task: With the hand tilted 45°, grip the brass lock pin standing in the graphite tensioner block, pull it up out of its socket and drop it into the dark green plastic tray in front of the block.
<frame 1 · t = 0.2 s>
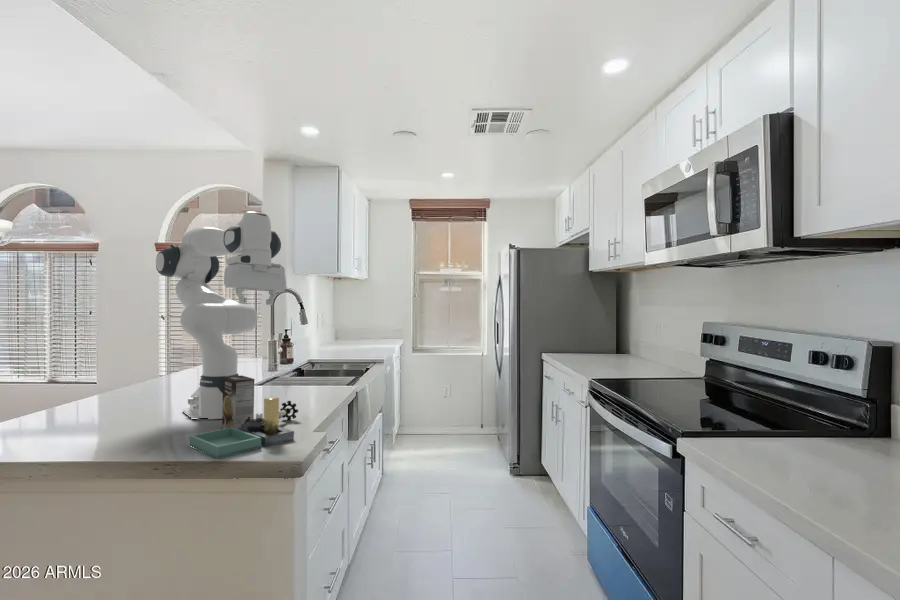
hand: (256, 304, 157), 39 cm above the countertop, tool pointing down, fingers open, 8 cm apart
coffee box: (237, 429, 154), on the countertop
tray: (225, 447, 135), on the countertop
tensioner block: (265, 438, 144), on the countertop
valve: (279, 424, 161), on the countertop
lock pin: (271, 440, 142), resting in tensioner block
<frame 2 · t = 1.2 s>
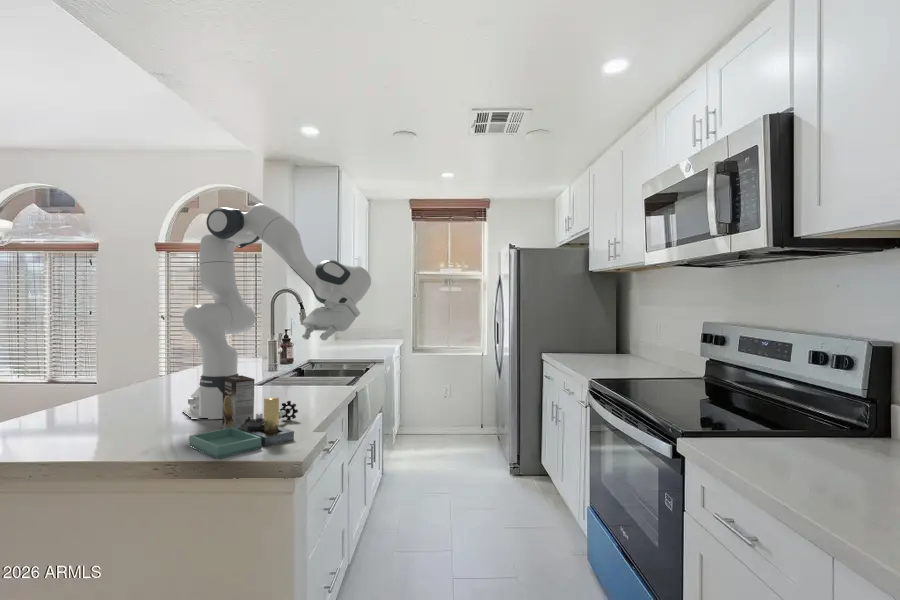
hand: (313, 338, 153), 29 cm above the countertop, tool tilted 45°, fingers open, 8 cm apart
nothing on the countertop moved.
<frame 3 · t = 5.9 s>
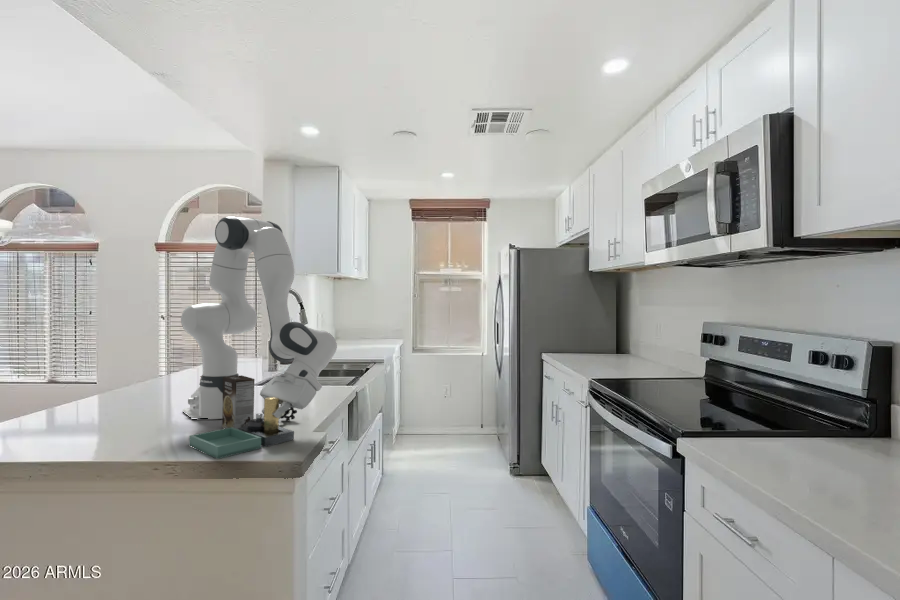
hand: (269, 415, 142), 7 cm above the countertop, tool tilted 45°, fingers closed on lock pin, 4 cm apart
lock pin: (271, 440, 142), resting in tensioner block, touching gripper
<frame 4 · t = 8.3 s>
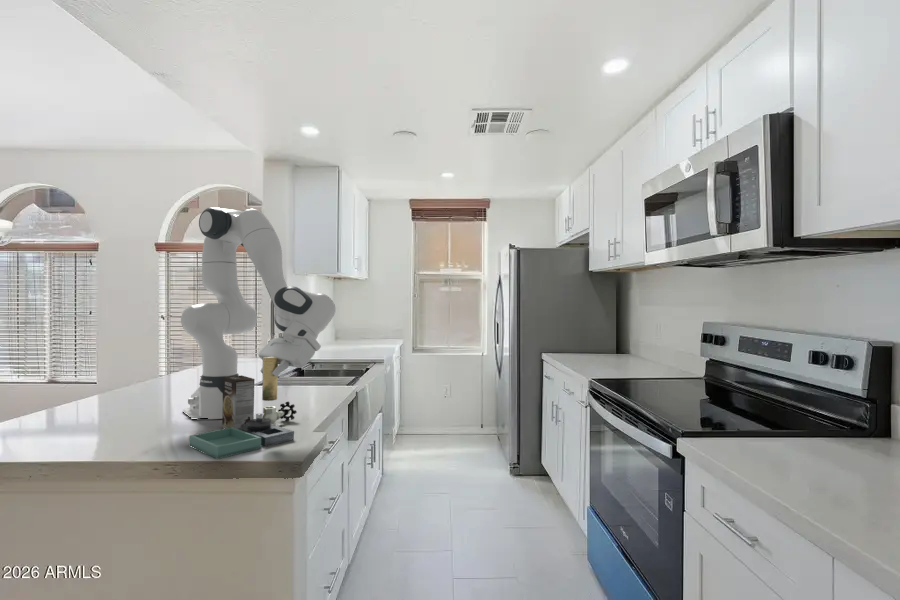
hand: (268, 374, 141), 19 cm above the countertop, tool tilted 45°, fingers closed on lock pin, 4 cm apart
lock pin: (269, 399, 142), point 12 cm above the countertop, touching gripper
when the fingers open (10 cm above the countertop, at t = 11.2 s): lock pin drops 2 cm, resting on tray.
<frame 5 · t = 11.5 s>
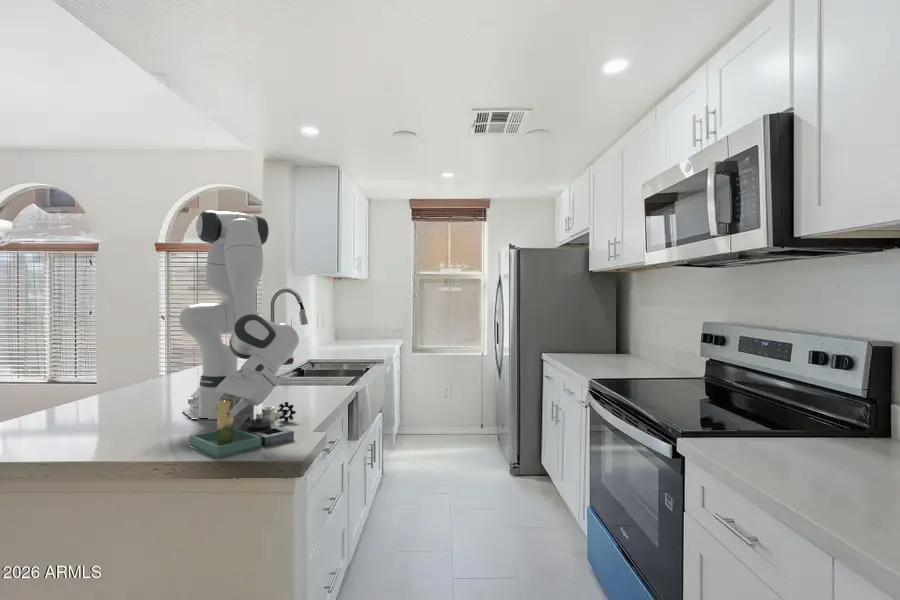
hand: (223, 411, 134), 10 cm above the countertop, tool tilted 45°, fingers open, 7 cm apart
lock pin: (225, 444, 135), point 1 cm above the countertop, touching tray
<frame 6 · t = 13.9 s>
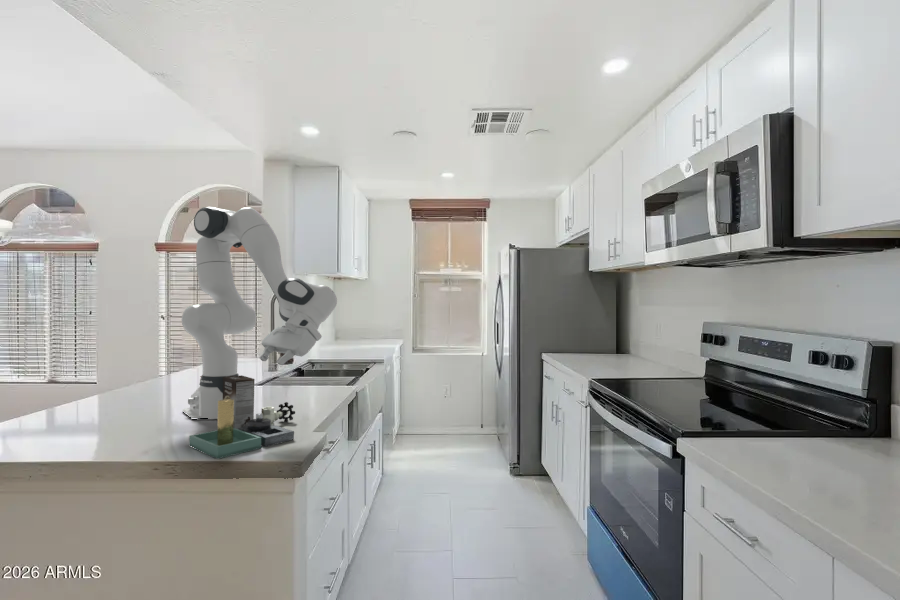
hand: (270, 361, 147), 22 cm above the countertop, tool tilted 45°, fingers open, 8 cm apart
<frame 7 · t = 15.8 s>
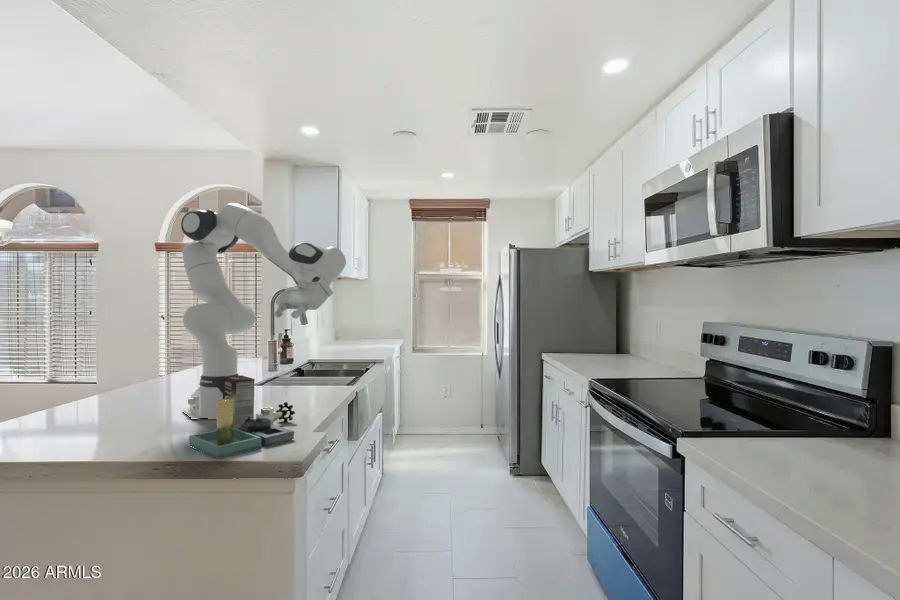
hand: (284, 316, 153), 35 cm above the countertop, tool tilted 45°, fingers open, 8 cm apart
at the end: lock pin inside the target area on the tray (0.0 cm from its centre), point 0.8 cm above the tray's base; lock pin touching tray; the gripper is holding nothing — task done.
